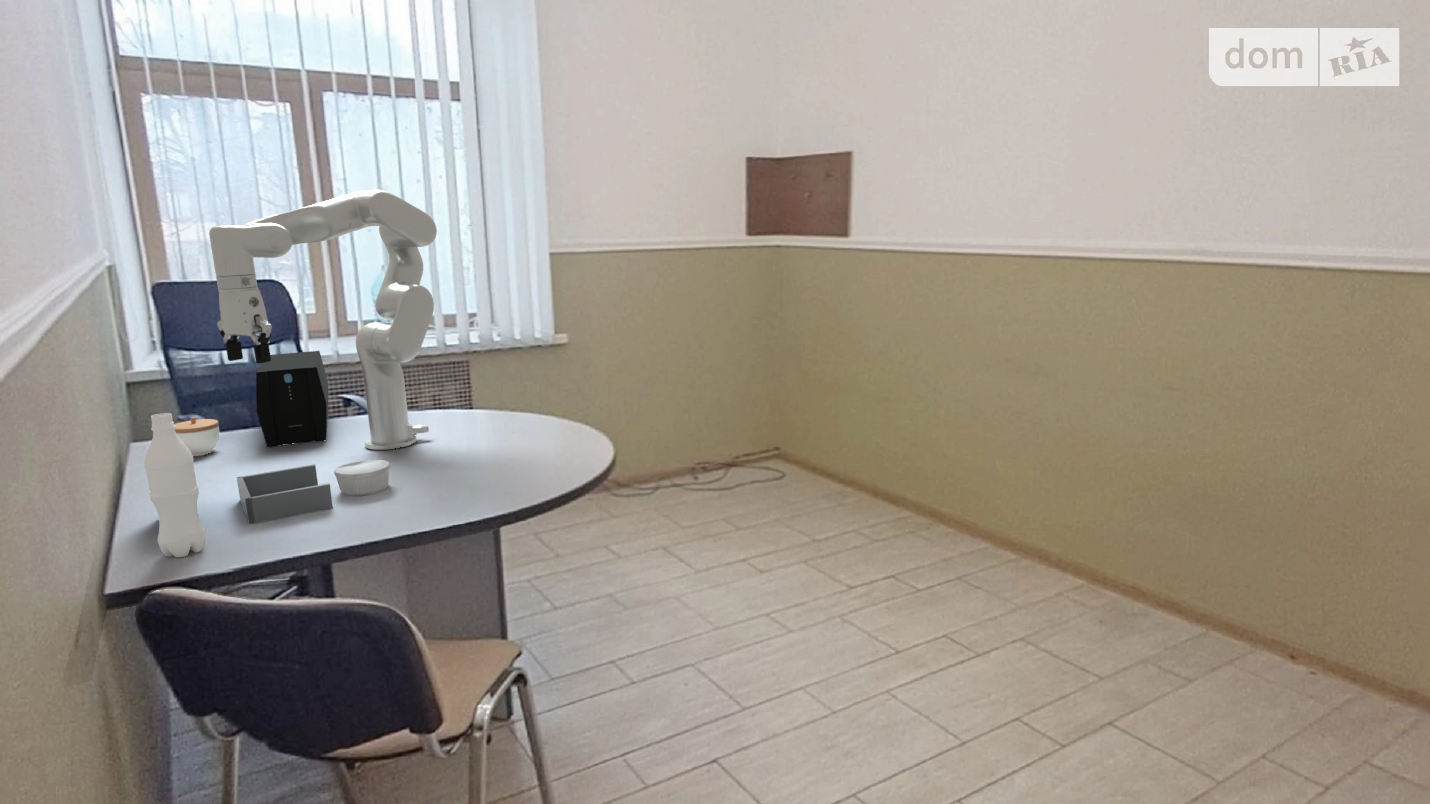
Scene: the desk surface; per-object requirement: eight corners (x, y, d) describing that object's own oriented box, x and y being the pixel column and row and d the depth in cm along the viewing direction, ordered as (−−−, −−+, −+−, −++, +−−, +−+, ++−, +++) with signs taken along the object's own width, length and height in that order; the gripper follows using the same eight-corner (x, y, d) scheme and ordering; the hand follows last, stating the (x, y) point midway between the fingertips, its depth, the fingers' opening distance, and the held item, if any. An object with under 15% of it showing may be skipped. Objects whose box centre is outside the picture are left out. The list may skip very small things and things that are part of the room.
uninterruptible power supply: (262, 448, 218) (250, 372, 214) (271, 421, 249) (262, 354, 244) (331, 440, 225) (321, 366, 220) (332, 415, 255) (324, 349, 251)
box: (317, 486, 185) (314, 464, 184) (332, 507, 171) (329, 484, 169) (240, 500, 177) (236, 477, 176) (249, 524, 162) (245, 499, 161)
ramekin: (367, 479, 190) (364, 456, 188) (403, 485, 185) (401, 462, 183) (325, 494, 180) (321, 470, 179) (362, 500, 175) (359, 476, 174)
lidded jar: (224, 445, 222) (219, 411, 220) (220, 455, 213) (215, 419, 211) (177, 451, 218) (171, 416, 216) (171, 461, 208) (164, 424, 206)
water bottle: (173, 563, 144) (148, 421, 139) (152, 555, 148) (127, 417, 143) (216, 549, 150) (194, 412, 145) (195, 541, 154) (172, 408, 149)
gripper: (278, 282, 182) (290, 360, 186) (229, 281, 190) (241, 356, 194) (246, 285, 176) (258, 366, 179) (196, 284, 184) (209, 361, 187)
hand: (249, 361), depth 187 cm, fingers open, 9 cm apart
